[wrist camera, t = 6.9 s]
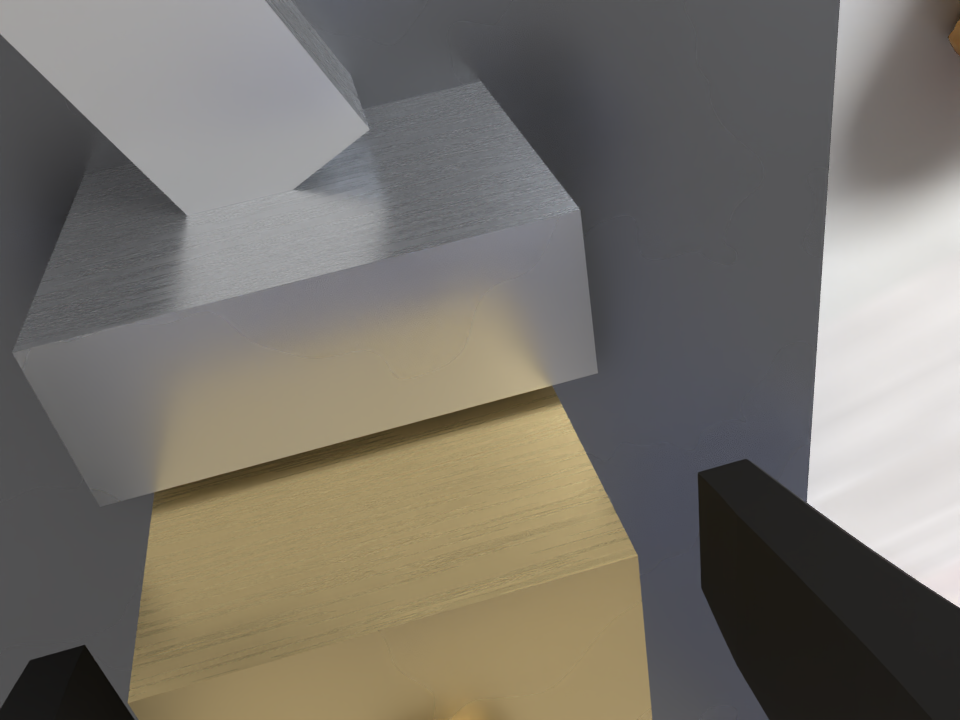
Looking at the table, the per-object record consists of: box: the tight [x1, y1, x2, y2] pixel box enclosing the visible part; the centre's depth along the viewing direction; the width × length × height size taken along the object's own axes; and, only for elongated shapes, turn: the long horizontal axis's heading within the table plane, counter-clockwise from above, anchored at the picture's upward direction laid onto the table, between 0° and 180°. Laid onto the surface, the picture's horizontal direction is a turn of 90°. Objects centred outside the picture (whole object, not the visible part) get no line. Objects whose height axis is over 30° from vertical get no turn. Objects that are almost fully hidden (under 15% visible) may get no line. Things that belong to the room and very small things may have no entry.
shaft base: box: [0, 0, 840, 720], centre depth 11 cm, size 21×17×4 cm
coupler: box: [128, 386, 652, 720], centre depth 10 cm, size 6×4×6 cm, turn 10°
